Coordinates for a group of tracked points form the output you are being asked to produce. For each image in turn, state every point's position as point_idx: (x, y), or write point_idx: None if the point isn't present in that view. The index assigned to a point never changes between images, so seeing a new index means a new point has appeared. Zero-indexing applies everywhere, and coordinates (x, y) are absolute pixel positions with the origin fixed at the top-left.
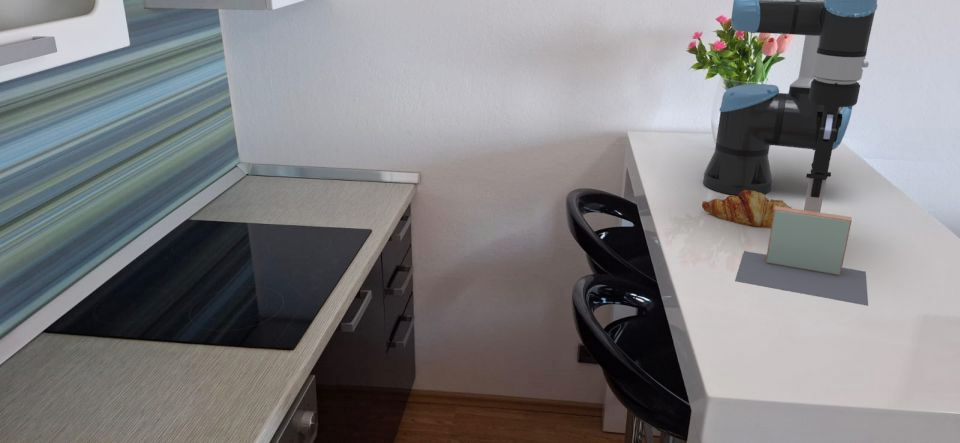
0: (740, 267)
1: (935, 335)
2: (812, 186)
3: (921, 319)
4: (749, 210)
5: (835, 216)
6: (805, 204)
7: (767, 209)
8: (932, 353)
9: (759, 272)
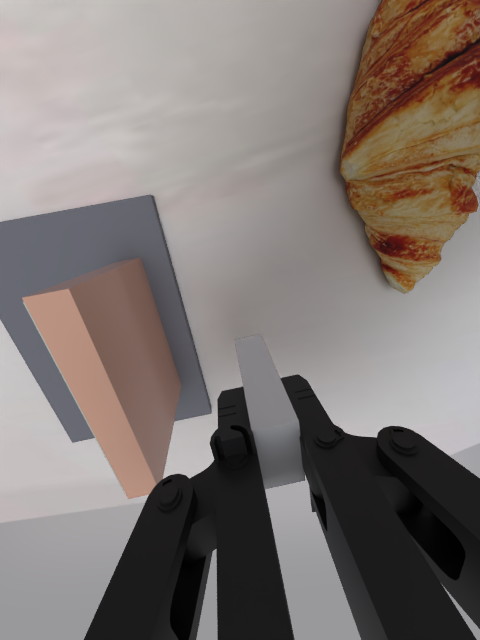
0: (39, 218)
1: (71, 500)
2: (219, 426)
3: (107, 483)
4: (368, 129)
5: (128, 465)
6: (237, 354)
7: (392, 184)
8: (14, 506)
9: (50, 266)
